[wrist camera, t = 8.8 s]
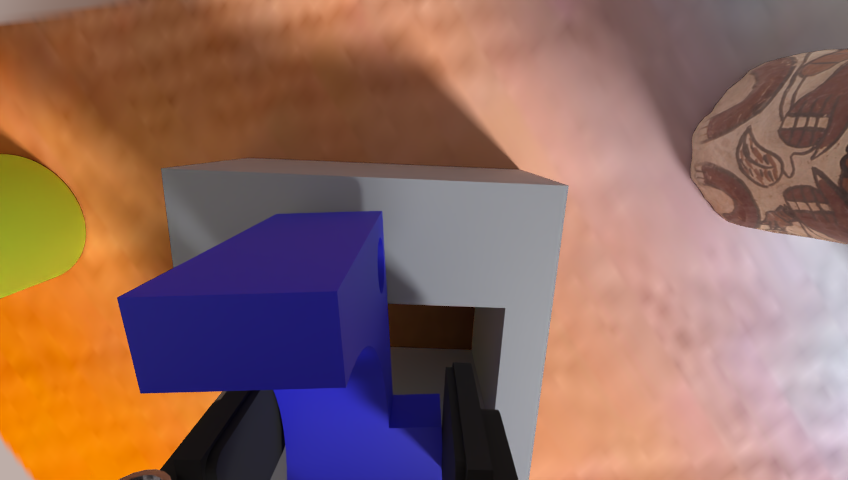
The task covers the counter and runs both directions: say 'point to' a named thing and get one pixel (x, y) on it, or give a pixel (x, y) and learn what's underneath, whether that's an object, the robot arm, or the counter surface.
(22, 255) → the soap dispenser
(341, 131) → the counter surface
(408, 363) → the slotted block
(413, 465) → the cable clip
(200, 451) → the robot arm
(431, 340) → the counter surface
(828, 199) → the figurine
